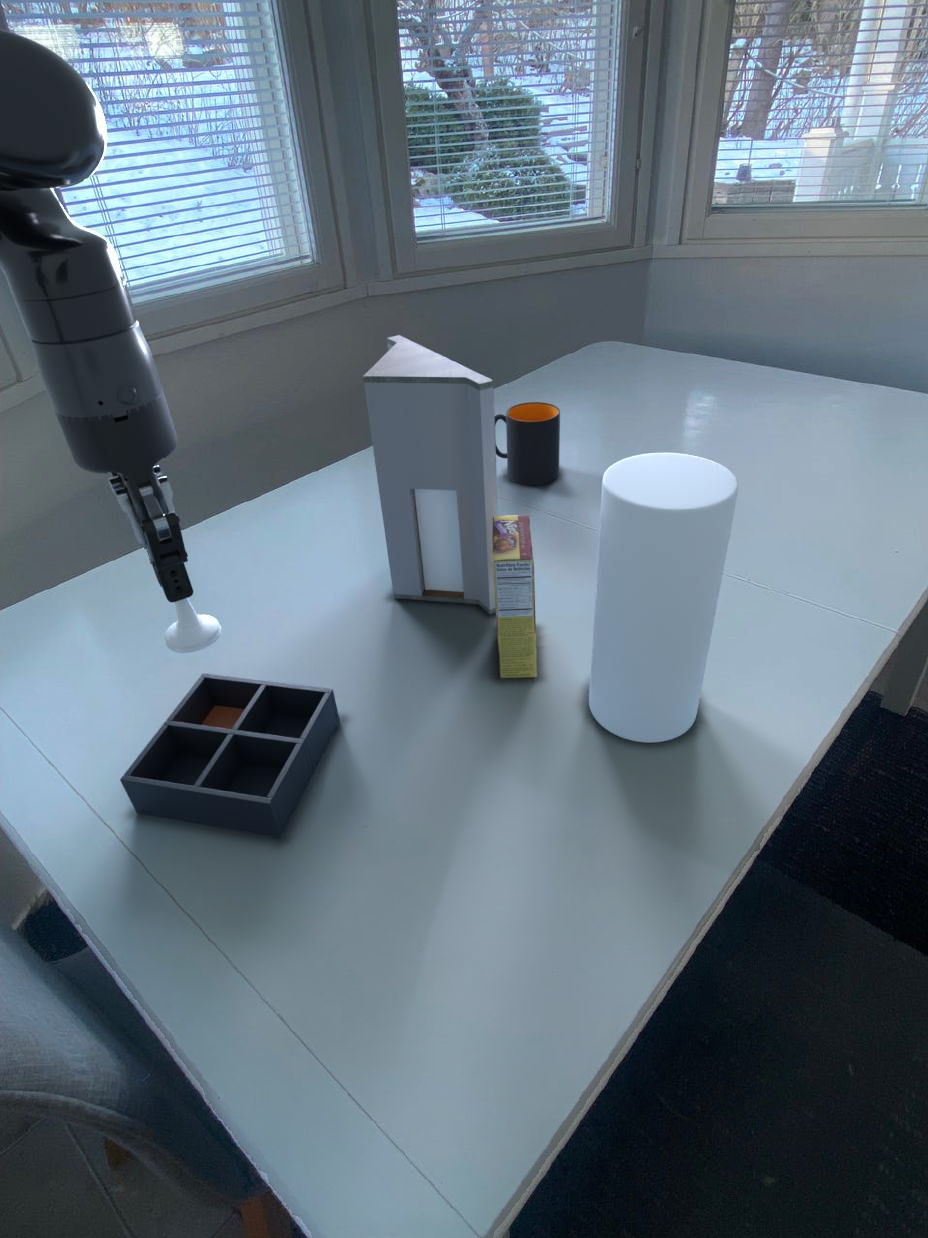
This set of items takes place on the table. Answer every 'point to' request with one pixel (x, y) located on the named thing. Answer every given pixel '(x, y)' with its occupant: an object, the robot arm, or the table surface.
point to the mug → (532, 442)
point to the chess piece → (191, 629)
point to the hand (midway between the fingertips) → (176, 590)
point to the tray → (234, 754)
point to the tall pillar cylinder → (657, 590)
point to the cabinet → (434, 473)
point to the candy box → (514, 595)
